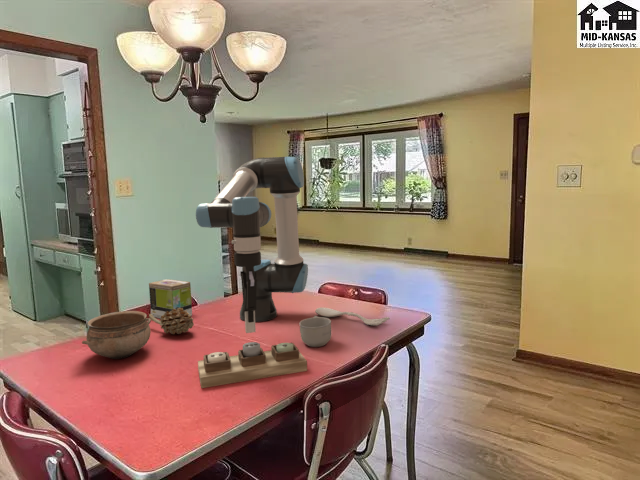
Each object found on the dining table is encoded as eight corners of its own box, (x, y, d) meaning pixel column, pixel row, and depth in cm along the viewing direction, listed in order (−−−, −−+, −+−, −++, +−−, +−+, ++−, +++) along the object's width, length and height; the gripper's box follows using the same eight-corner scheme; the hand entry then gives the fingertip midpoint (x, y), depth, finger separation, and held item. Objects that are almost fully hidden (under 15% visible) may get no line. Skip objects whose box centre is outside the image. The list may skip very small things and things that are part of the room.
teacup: (328, 350, 143) (328, 327, 142) (296, 348, 145) (295, 325, 144) (335, 336, 156) (335, 314, 155) (306, 334, 159) (305, 313, 158)
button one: (275, 353, 133) (274, 343, 133) (290, 351, 135) (290, 341, 134) (278, 359, 128) (278, 349, 128) (295, 357, 130) (295, 347, 130)
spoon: (378, 331, 161) (378, 322, 161) (311, 316, 181) (310, 308, 180) (390, 325, 168) (390, 316, 168) (324, 311, 188) (324, 303, 187)
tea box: (193, 315, 185) (191, 281, 183) (173, 322, 176) (171, 286, 174) (169, 310, 193) (167, 277, 191) (150, 316, 184) (147, 282, 182)
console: (198, 370, 129) (197, 352, 129) (295, 355, 139) (295, 339, 138) (201, 388, 118) (200, 368, 118) (307, 370, 128) (306, 352, 127)
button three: (241, 353, 130) (241, 343, 129) (258, 350, 131) (258, 340, 131) (244, 359, 125) (244, 349, 124) (261, 356, 126) (261, 346, 126)
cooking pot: (106, 375, 127) (103, 335, 126) (65, 364, 136) (62, 326, 134) (171, 346, 150) (168, 311, 148) (132, 338, 158) (129, 305, 156)
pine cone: (201, 332, 164) (200, 306, 162) (184, 340, 155) (182, 313, 154) (156, 325, 172) (154, 301, 171) (137, 333, 163) (135, 307, 162)
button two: (207, 363, 127) (206, 353, 126) (225, 360, 128) (224, 350, 128) (208, 370, 122) (208, 359, 121) (227, 367, 123) (226, 356, 123)
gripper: (230, 249, 129) (234, 326, 132) (237, 255, 117) (241, 340, 120) (256, 247, 131) (259, 323, 134) (265, 253, 119) (268, 337, 122)
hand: (250, 331), depth 127 cm, fingers closed
